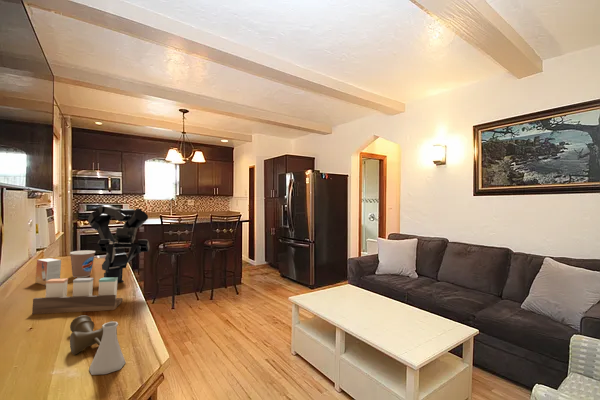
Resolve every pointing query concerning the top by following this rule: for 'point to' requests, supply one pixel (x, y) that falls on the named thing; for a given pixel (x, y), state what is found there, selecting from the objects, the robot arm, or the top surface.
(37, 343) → the top surface
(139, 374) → the top surface
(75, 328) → the kendama
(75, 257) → the coffee cup
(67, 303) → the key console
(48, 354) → the top surface
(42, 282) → the small box
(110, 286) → the teal key
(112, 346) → the flask
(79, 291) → the grey key
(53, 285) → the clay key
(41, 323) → the top surface
